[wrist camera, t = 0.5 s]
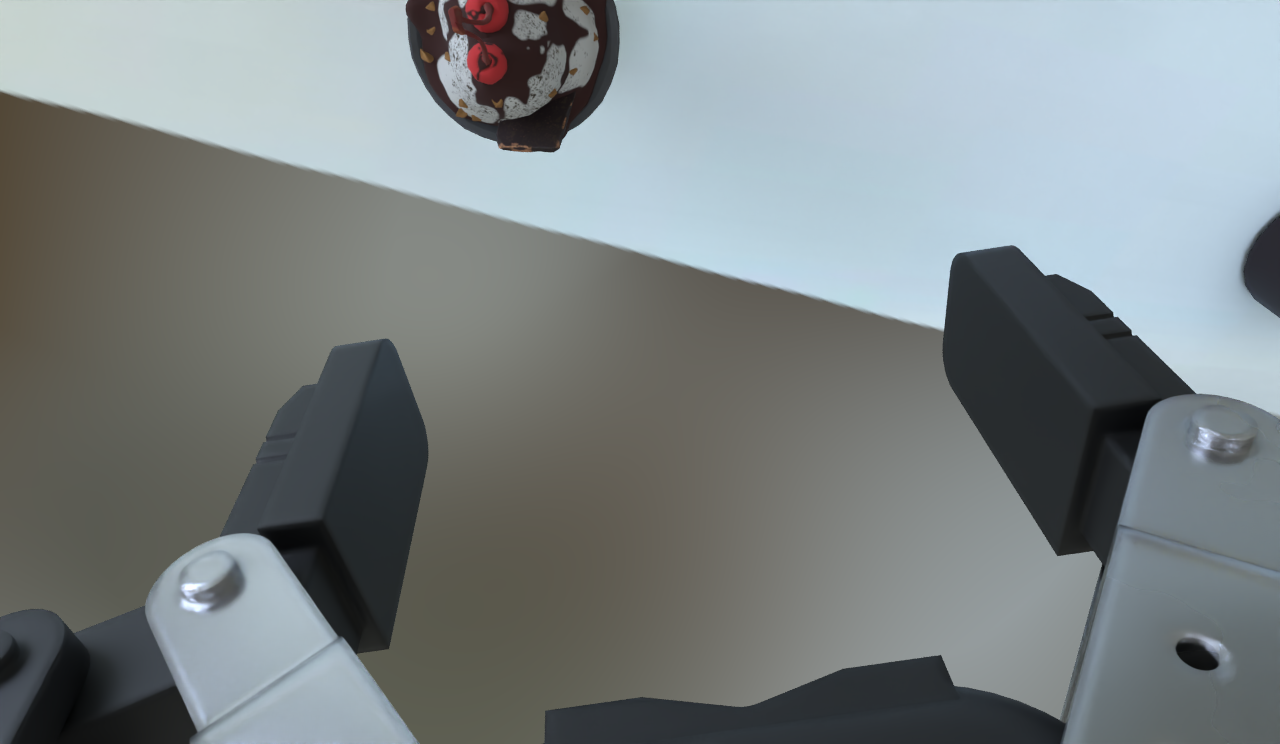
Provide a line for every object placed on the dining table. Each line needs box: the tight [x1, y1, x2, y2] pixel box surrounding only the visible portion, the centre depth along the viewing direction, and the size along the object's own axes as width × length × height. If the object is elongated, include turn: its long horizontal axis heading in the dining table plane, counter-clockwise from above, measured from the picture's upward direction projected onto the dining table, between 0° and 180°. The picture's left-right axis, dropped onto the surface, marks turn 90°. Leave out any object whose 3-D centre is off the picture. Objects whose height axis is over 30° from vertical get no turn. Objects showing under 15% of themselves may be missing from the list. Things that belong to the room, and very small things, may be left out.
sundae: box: [406, 0, 619, 152], centre depth 28 cm, size 7×7×15 cm
